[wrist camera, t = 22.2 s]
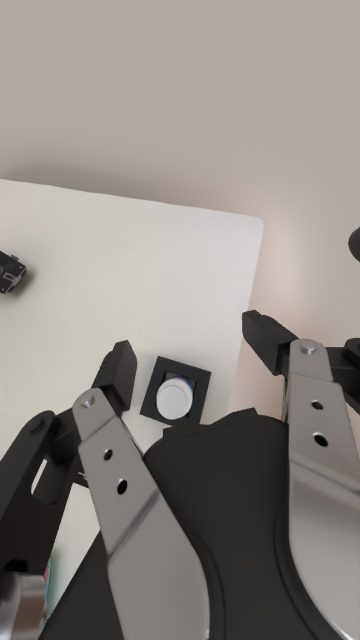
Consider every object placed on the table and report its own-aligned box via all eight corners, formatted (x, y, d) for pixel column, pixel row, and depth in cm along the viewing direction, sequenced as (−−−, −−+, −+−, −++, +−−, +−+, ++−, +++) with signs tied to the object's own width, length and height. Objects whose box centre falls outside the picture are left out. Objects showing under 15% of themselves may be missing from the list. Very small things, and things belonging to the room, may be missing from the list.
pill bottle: (189, 373, 31) (189, 377, 22) (195, 403, 29) (197, 422, 20) (162, 378, 31) (149, 384, 22) (166, 408, 29) (154, 429, 20)
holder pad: (209, 371, 31) (211, 372, 28) (196, 427, 28) (196, 435, 25) (160, 356, 32) (158, 356, 29) (144, 409, 30) (139, 414, 27)
